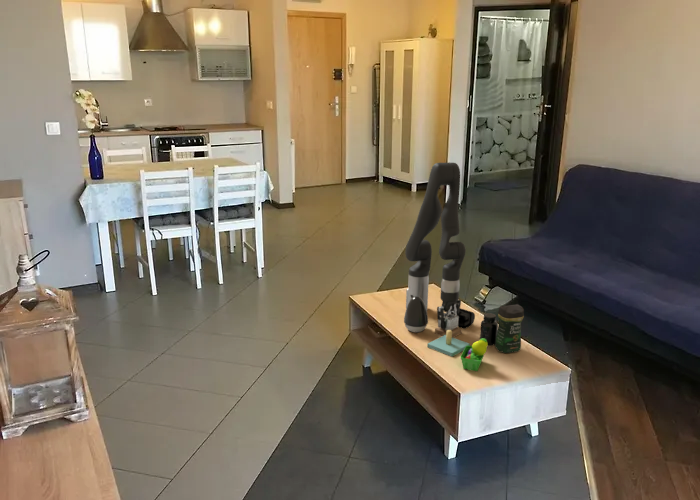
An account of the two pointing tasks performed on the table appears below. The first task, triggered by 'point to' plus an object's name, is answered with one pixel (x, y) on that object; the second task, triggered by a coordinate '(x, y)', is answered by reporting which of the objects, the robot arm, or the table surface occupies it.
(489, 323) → the supplement bottle
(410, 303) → the dark grey rounded cone
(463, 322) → the end cap
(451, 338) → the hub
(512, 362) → the table surface
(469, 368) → the fruit basket
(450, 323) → the collar
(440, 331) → the stand
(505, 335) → the coffee jar
